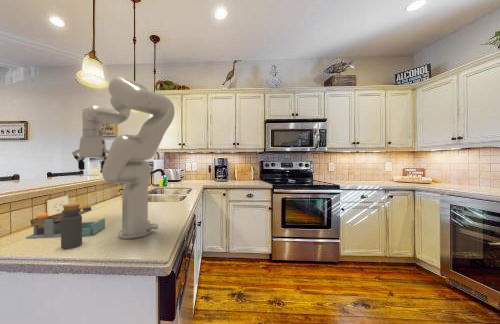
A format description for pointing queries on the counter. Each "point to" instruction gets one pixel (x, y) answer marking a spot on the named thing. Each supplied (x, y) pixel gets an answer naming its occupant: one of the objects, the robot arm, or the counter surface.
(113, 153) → the robot arm
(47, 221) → the stand
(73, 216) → the bottle
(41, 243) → the counter surface
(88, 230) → the tray
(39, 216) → the ball
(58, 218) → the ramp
